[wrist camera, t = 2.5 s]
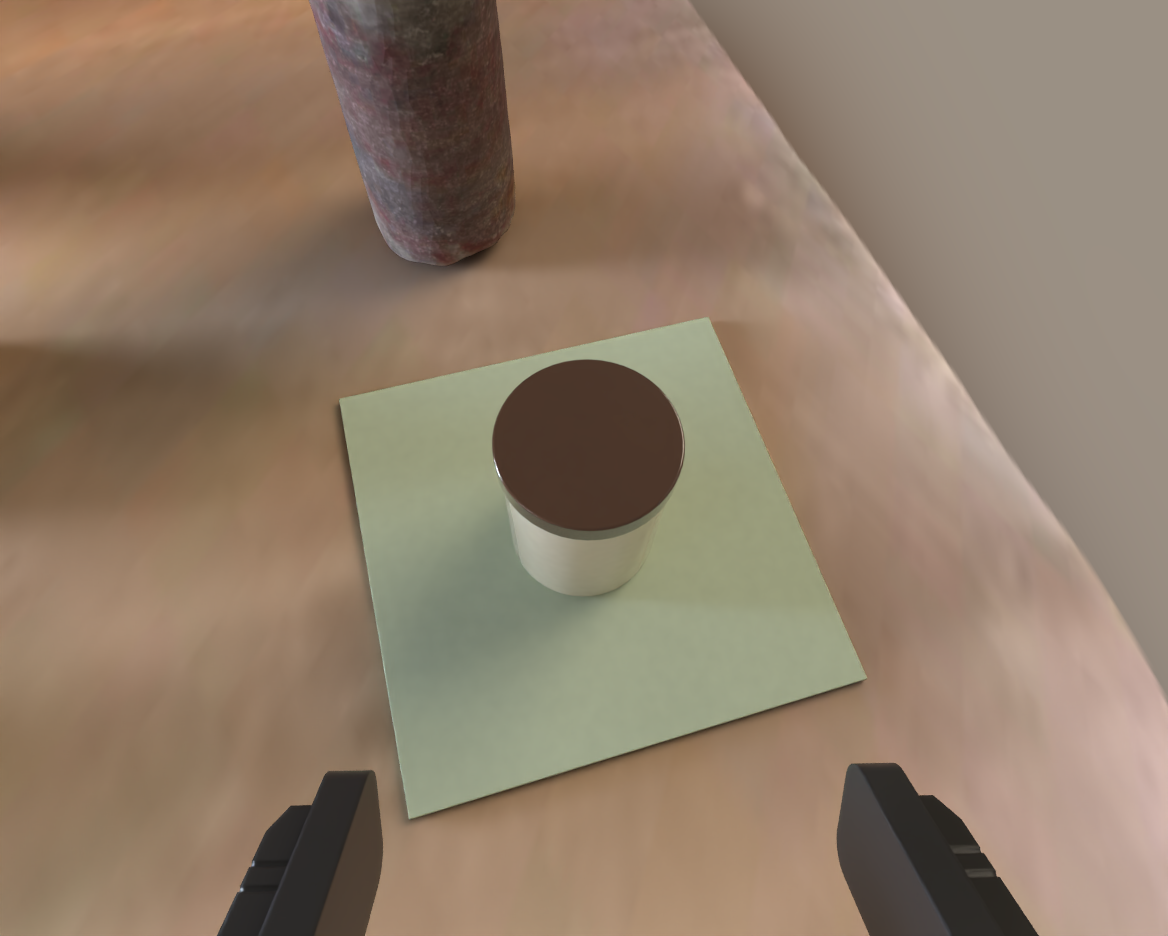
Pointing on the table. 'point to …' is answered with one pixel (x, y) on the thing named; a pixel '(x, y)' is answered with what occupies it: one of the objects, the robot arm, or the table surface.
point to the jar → (586, 472)
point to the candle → (425, 119)
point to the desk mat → (573, 623)
